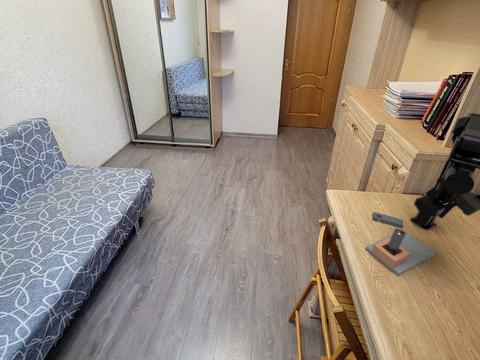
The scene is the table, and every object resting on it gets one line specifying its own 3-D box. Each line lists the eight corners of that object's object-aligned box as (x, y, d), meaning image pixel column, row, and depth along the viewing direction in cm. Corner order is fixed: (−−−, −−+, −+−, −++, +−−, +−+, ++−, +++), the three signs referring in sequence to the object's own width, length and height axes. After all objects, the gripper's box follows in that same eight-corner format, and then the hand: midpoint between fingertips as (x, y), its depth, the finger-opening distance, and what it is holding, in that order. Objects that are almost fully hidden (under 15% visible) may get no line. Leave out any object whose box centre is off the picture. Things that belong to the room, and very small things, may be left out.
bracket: (401, 229, 98) (403, 225, 97) (371, 221, 101) (373, 217, 100) (401, 223, 101) (402, 219, 100) (372, 215, 104) (373, 211, 103)
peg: (387, 250, 86) (398, 227, 80) (396, 257, 83) (407, 234, 78) (381, 253, 84) (392, 230, 79) (389, 260, 82) (401, 237, 77)
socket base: (401, 232, 95) (405, 223, 93) (434, 255, 86) (440, 246, 84) (364, 249, 87) (368, 240, 85) (397, 276, 78) (402, 266, 76)
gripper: (469, 201, 63) (441, 248, 71) (506, 185, 70) (476, 228, 79) (424, 179, 71) (403, 223, 79) (461, 167, 79) (438, 208, 87)
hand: (431, 221), depth 81 cm, fingers open, 9 cm apart
